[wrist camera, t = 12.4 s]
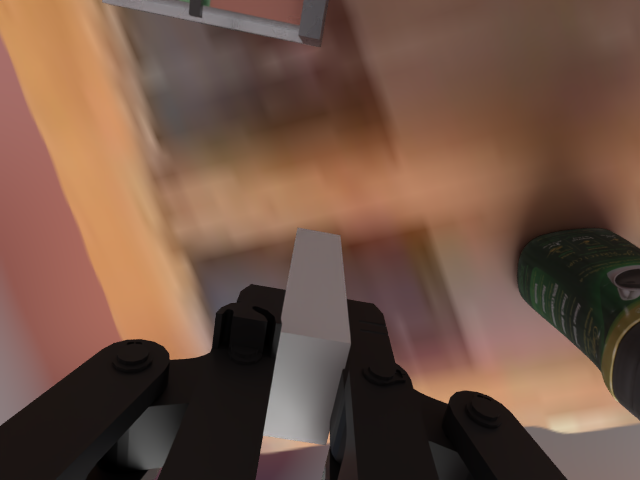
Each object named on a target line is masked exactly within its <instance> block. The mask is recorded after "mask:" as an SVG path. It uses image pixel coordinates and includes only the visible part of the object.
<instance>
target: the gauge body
mask: <svg viewBox="0 0 640 480" xmlns="http://www.w3.org/2000/svg"><path fill="white" fill-rule="evenodd" d="M328 1H329V0H203V13H202V18H198V17H193V16H190V15H189V4H190V0H102V2H103V3H106V4H109V5H114V6H119V7H124V8H129V9H134V10H139V11H144V12H148V13H153V14H158V15H163V16H168V17H173V18H178V19H183V20H188V21H193V22H198V23H203V24H208V25H213V26H217V27H222V28H227V29H232V30H237V31H242V32H247V33H252V34H257V35H262V36H267V37H272V38H277V39H281V40H286V41H291V42H296V43H301V44H306V45H311V46H316V47H321V42H322V36H323V30H324V24H325V19H326V13H327V7H328Z"/></svg>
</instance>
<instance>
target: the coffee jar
mask: <svg viewBox="0 0 640 480" xmlns="http://www.w3.org/2000/svg"><path fill="white" fill-rule="evenodd" d="M517 279H518V288H519V292H520V294H521V296H522V298H523V299H524V300H525V301H526V302H527V303H528V304H529V305H530V306H531V307H532V308H533V309H534V310H535V311H536V312H537V313H538V314H540V315H541V316H542V317H543V318H544V319H546V320H547V321H548V322H549V323H550V324H551V325H553V326H554V327H555V328H556V329H557V330H559V331H560V332H561V333H562V334H563V335H564V336H565V337H567V338H568V339H569V340H570V341H571V342H572V343H573V344H574V345H575V346H576V347H577V348H579V349H580V350H581V351H582V352H583V353H584V354H585V355H586V356H587V357H588V358H589V359H590V360H591V361H592V362H593V363H594V364H595V365H596V366H597V367H598V369H599V370H600V371H601V372H602V376H603V379H604V382H605V385H606V386H607V388H608V390H609V392H610V393H611V395H612V396H613V397H614V398H615V400H617V401H618V402H619V403H620V404H621V405H622V406H624V407H625V408H626V409H627V410H628V411H629V412H630V413H632V414H633V415H634V416H635V417H637V418H638V419H639V420H640V249H639V248H638V247H636V246H635V245H633V244H632V243H630V242H629V241H627V240H626V239H624V238H622V237H621V236H619V235H617V234H615V233H613V232H612V231H610V230H607V229H602V228H583V229H573V230H564V231H558V232H553V233H549V234H545V235H542V236H539V237H537V238H535V239H533V240H532V241H530V242H529V243H528V244H527V245H526V246H525V248H524V249H523V251H522V253H521V255H520V258H519V263H518V273H517Z"/></svg>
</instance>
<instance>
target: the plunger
mask: <svg viewBox="0 0 640 480" xmlns="http://www.w3.org/2000/svg"><path fill="white" fill-rule="evenodd" d="M202 13H203V0H190V4H189V15H190V16H193V17H198V18H202Z"/></svg>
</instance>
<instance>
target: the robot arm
mask: <svg viewBox="0 0 640 480" xmlns="http://www.w3.org/2000/svg"><path fill="white" fill-rule="evenodd" d="M329 431H330V449H329V452H328V456H327V460H326V464H325V468H324V472H323V476H322V480H567V479H566V477H565V476H564V475H563V474H562V473H561V471H560V470H559V469H558V468H557V467H556V465H554V463H553V462H552V461H551V459H550V458H549V457H548V456H547V455H546V454H545V452H544V451H543V450H542V449H541V448H540V446H539V445H538V444H537V443H536V442H535V440H533V438H532V437H531V436H530V434H529V433H528V432H527V431H526V430H525V429H524V427H523V426H522V425H521V424H520V423H519V421H518V420H517V419H516V418H515V417H514V415H513V414H512V413H511V412H510V411H509V410H508V409H507V408H506V407H504V406H503V405H502V404H501V403H499V402H498V401H496V400H494V399H493V398H491V397H489V396H487V395H484V394H482V393H478V392H473V391H460V392H456V393H455V394H454V395H453V396H451V397H450V400H449V403H448V404H446V403H444V402H441V401H439V400H436V399H433V398H431V397H428V396H426V395H424V394H422V393H420V392H418V391H416V390H415V389H413V385H412V382H411V379H410V377H409V376H408V374H407V372H406V371H405V370H404V369H403V368H401V367H400V366H399V365H398V364H396V363H395V360H394V356H393V352H392V348H391V344H390V340H389V336H388V332H387V328H386V324H385V320H384V316H383V313H382V312H381V311H380V310H379V309H378V308H377V307H376V306H375V305H374V304H372V303H366V302H360V301H354V300H349V299H347V298H346V288H345V278H344V268H343V258H342V248H341V238H340V235H335V234H330V233H324V232H319V231H313V230H307V229H302V228H297V233H296V239H295V244H294V250H293V255H292V261H291V266H290V272H289V277H288V283H287V288H286V290H283V289H277V288H271V287H265V286H259V285H253V284H251V285H249V286H248V287H246V288H245V289H244V290H242V291H241V292H240V295H239V297H238V300H237V303H230V304H228V305H226V306H224V307H221V308H220V310H219V311H218V312H217V313H216V318H215V327H214V335H213V344H212V349H211V352H210V353H208V354H206V355H203V356H200V357H197V358H190V359H179V360H170V359H169V353H168V352H167V350H166V349H165V348H164V347H163V346H161V345H159V344H157V343H155V342H153V341H147V340H142V339H136V340H125V341H121V342H117V343H113V344H112V345H110V346H108V347H106V348H104V349H102V350H101V351H99V352H98V353H97V354H95V355H94V356H93V357H92V358H90V359H89V360H87V361H86V362H85V363H83V364H82V365H81V366H79V367H78V368H77V369H75V370H74V371H73V372H71V373H70V374H69V375H67V376H66V377H65V378H63V379H62V380H61V381H59V382H58V383H57V384H55V385H54V386H53V387H51V388H50V389H49V390H47V391H46V392H45V393H43V394H42V395H41V396H39V397H38V398H37V399H36V400H34V401H33V402H31V403H30V404H29V405H28V406H26V407H25V408H23V409H22V410H21V411H19V412H18V413H17V414H15V415H14V416H13V417H11V418H10V419H9V420H7V421H6V422H5V423H3V424H2V425H1V426H0V480H154V479H155V477H156V476H157V474H158V472H159V470H160V468H161V467H163V468H162V470H161V473H160V475H159V477H158V480H255V479H256V473H257V467H258V462H259V456H260V450H261V444H262V438H263V436H269V437H276V438H282V439H289V440H295V441H302V442H309V443H315V444H322V445H326V443H327V439H328V435H329Z"/></svg>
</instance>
